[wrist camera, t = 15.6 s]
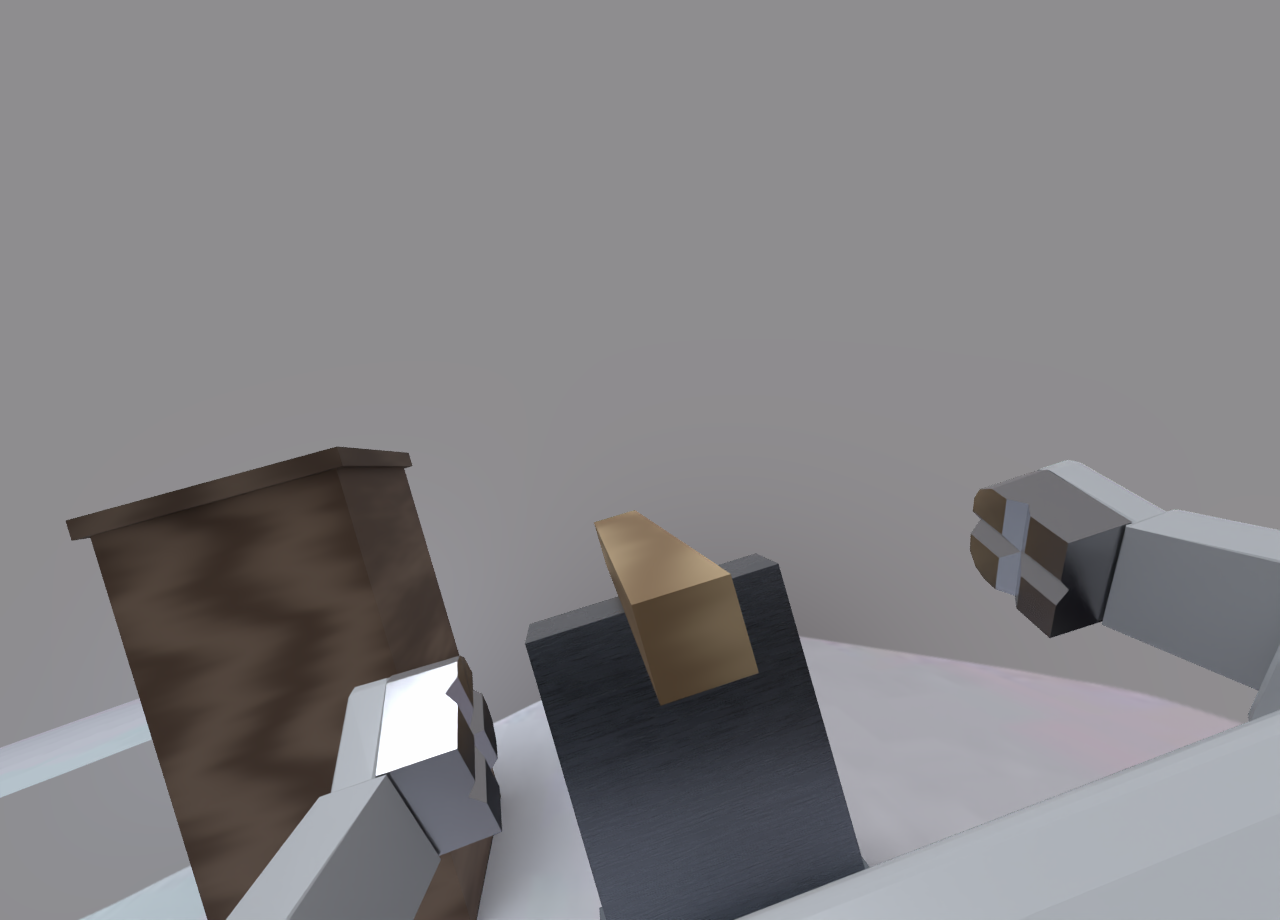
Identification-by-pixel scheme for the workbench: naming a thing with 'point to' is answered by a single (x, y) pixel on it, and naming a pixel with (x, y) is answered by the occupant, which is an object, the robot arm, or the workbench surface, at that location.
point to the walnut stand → (272, 647)
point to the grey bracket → (695, 765)
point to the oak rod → (676, 608)
